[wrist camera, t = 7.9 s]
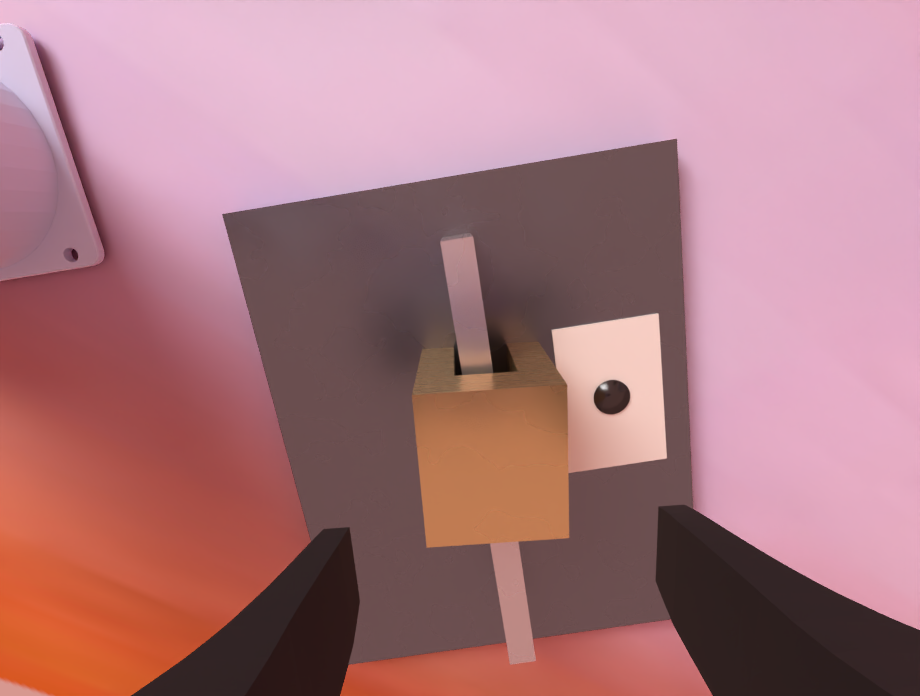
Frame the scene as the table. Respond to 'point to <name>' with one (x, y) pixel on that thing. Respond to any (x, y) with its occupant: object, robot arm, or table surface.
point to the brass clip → (492, 449)
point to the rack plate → (480, 352)
